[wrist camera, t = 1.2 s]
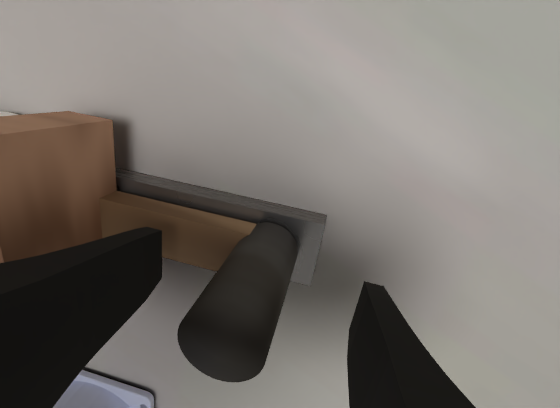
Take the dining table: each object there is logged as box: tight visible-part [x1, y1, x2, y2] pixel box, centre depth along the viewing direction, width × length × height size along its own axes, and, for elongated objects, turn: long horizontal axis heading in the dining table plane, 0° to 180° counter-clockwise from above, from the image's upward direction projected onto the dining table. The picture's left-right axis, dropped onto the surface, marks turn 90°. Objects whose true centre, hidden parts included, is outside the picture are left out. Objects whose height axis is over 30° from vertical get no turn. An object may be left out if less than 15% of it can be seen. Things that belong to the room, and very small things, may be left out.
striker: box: [0, 111, 298, 382], centre depth 11 cm, size 8×10×5 cm
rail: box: [115, 168, 327, 286], centre depth 14 cm, size 3×11×1 cm, turn 81°
